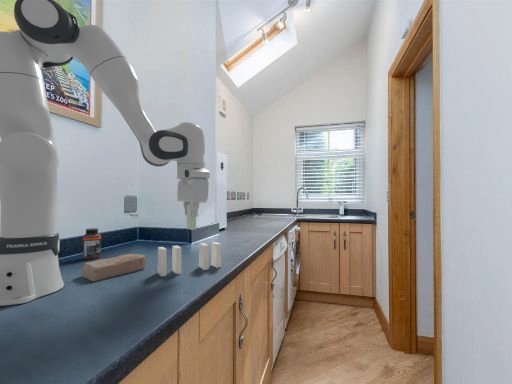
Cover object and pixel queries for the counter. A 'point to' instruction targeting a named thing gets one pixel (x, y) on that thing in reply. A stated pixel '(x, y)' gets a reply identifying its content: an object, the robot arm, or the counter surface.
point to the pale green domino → (190, 218)
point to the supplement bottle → (91, 244)
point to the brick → (113, 266)
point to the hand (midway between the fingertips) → (191, 216)
